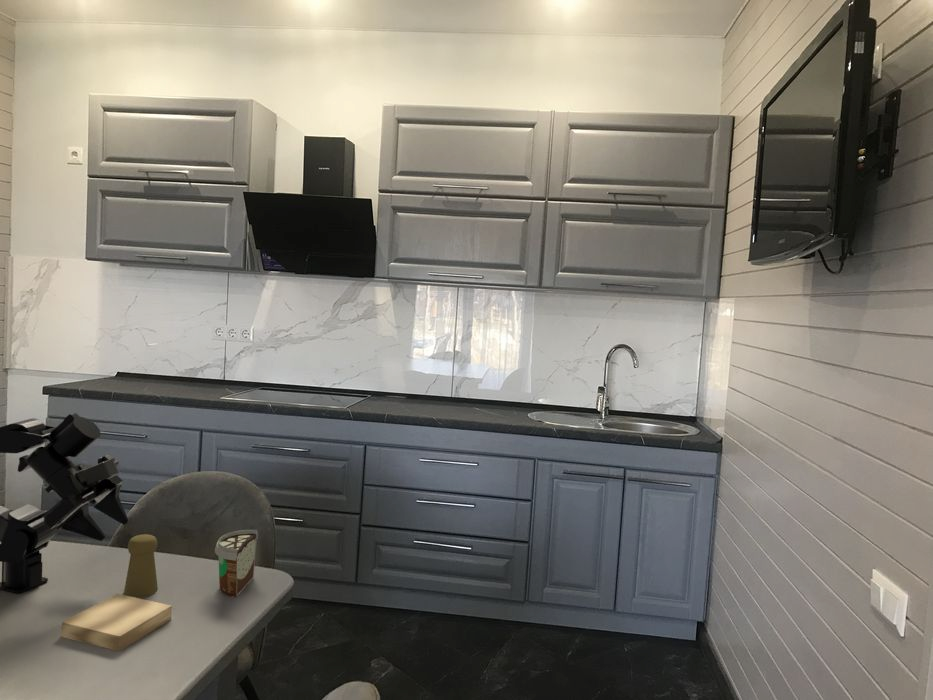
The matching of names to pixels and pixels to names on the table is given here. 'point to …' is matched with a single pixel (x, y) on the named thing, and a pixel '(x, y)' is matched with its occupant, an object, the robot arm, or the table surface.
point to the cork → (141, 567)
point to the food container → (236, 560)
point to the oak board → (116, 621)
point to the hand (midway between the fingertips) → (115, 530)
